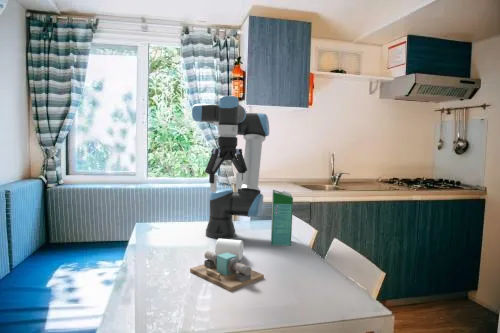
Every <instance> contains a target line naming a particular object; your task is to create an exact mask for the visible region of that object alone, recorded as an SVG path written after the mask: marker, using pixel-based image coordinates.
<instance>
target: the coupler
mask: <svg viewBox="0 0 500 333" xmlns="http://www.w3.org/2000/svg"><path fill="white" fill-rule="evenodd" d="M233 258H236V259H237V256H236V255H233V254H231V253H228V252H227V253H223V254H220V255H217V272H219V273H221V274H223V275H229V274H232V273H231V272H229V270H228V263H229V261H230V260H231V259H233Z"/></svg>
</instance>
